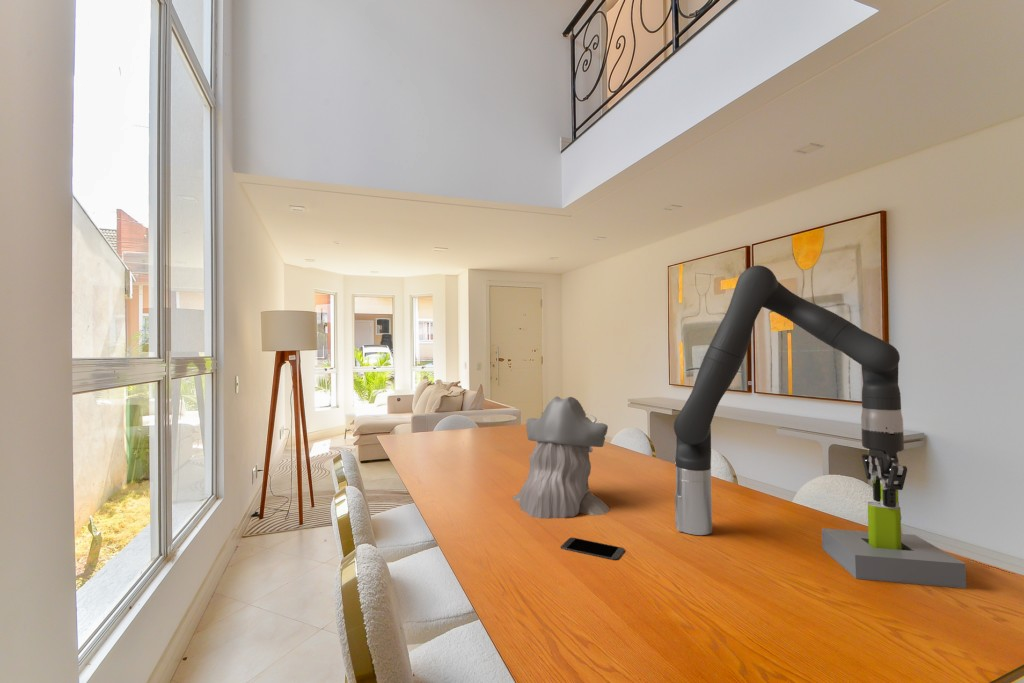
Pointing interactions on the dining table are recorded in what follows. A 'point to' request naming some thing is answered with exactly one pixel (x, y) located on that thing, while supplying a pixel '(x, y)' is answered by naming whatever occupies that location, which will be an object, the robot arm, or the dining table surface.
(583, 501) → the bust
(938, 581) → the charging dock
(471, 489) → the dining table surface
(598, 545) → the smartphone
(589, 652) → the dining table surface
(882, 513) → the vape
